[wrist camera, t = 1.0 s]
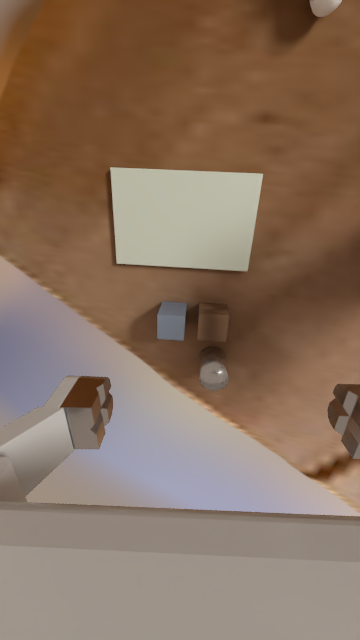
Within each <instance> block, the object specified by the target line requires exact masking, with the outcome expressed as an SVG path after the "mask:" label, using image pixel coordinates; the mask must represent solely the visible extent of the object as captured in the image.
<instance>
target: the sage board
mask: <svg viewBox="0 0 360 640" xmlns="http://www.w3.org/2000/svg"><path fill="white" fill-rule="evenodd" d="M110 169H111V184H112V200H113V215H114V230H115V245H116V261H117V264H133V265H150V266H167V267H183V268H200V269H217V270H233V271H248V265H249V259H250V252H251V246H252V240H253V234H254V228H255V221H256V215H257V209H258V203H259V197H260V190H261V184H262V178H263V174H255V173H231V172H207V171H183V170H159V169H135V168H111V167H110Z"/></svg>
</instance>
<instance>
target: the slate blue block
mask: <svg viewBox="0 0 360 640" xmlns="http://www.w3.org/2000/svg"><path fill="white" fill-rule="evenodd" d="M186 308H187V303H178V302H163V301H162V304H161V306H160V309H159V312H158V314H157V339H167V340H180V341H184V334H185V325H186Z"/></svg>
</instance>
